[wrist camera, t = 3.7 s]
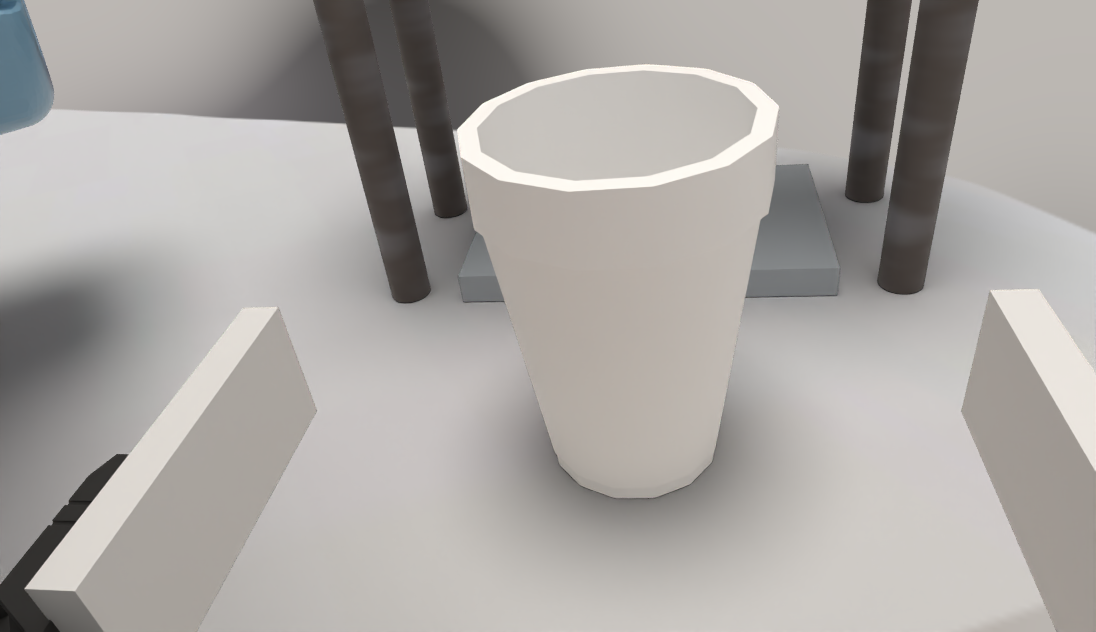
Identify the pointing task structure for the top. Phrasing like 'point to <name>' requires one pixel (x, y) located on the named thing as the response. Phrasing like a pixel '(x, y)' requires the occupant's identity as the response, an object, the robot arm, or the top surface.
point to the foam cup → (625, 255)
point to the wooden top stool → (918, 154)
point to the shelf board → (779, 257)
